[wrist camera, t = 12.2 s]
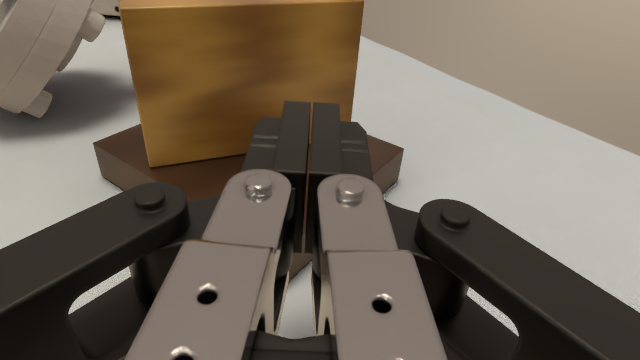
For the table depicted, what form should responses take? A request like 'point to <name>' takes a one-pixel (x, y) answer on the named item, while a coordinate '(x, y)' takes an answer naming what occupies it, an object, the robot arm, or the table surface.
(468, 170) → the table surface
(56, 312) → the robot arm
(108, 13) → the radio
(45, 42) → the valve
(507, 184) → the table surface
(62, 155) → the table surface
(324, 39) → the tan wooden flat block
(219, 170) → the panel
